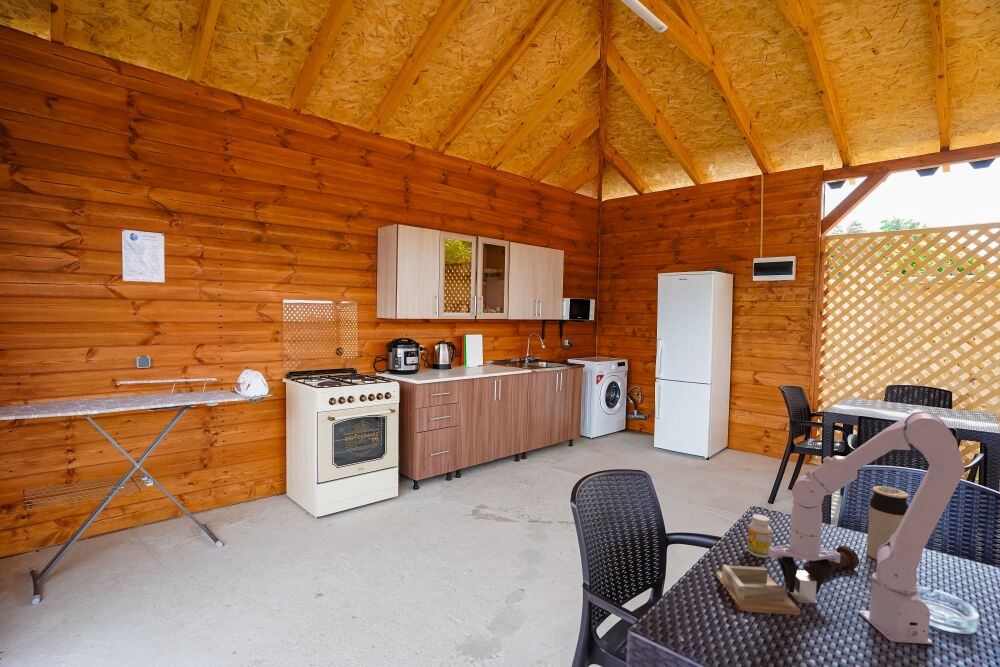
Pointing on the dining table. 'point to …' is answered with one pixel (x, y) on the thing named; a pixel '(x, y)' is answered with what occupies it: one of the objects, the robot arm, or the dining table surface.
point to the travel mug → (884, 516)
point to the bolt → (841, 560)
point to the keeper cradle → (756, 590)
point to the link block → (804, 587)
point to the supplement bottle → (759, 536)
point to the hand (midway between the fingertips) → (801, 590)
